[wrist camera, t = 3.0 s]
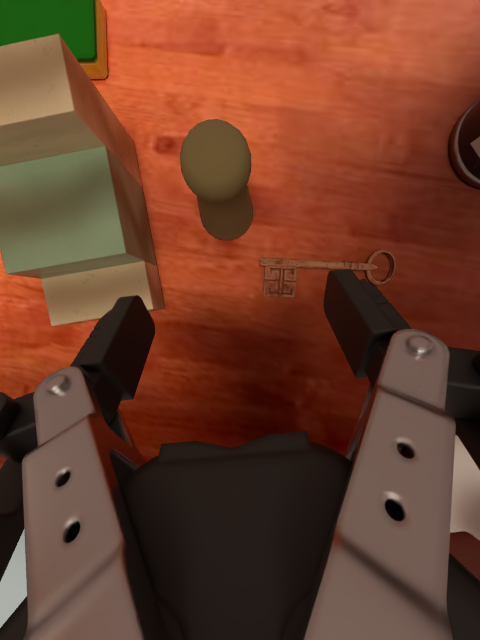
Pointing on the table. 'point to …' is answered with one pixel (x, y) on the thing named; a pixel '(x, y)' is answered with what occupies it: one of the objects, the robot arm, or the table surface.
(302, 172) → the table surface
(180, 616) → the robot arm
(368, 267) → the key
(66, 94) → the stepped block
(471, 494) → the flower in vase
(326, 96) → the table surface
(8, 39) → the dish sponge
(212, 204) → the brown pawn figure
